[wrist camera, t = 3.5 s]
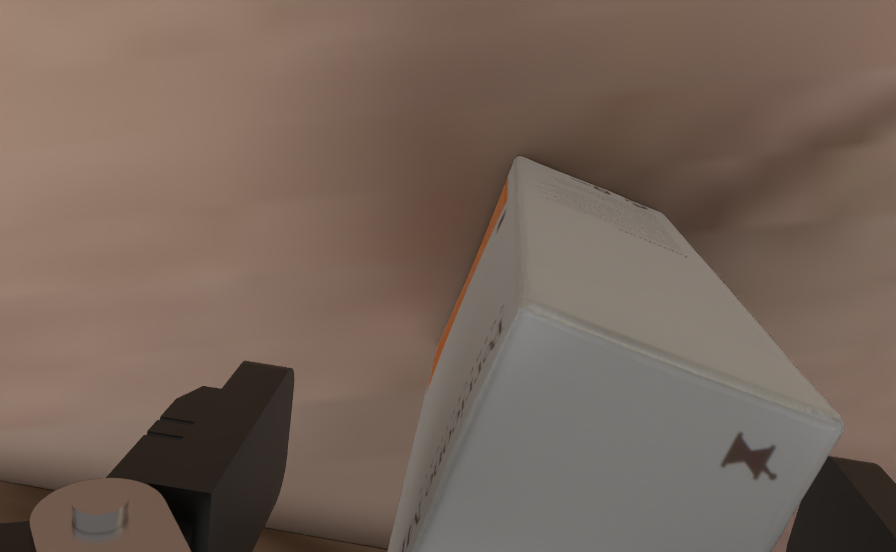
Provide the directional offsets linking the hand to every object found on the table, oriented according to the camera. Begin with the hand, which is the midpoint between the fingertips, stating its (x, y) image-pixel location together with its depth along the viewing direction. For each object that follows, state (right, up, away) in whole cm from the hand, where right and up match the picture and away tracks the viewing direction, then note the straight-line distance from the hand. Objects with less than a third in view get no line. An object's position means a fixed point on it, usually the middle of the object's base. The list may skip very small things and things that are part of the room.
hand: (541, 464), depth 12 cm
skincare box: (+1, +3, +9) cm, 10 cm away
